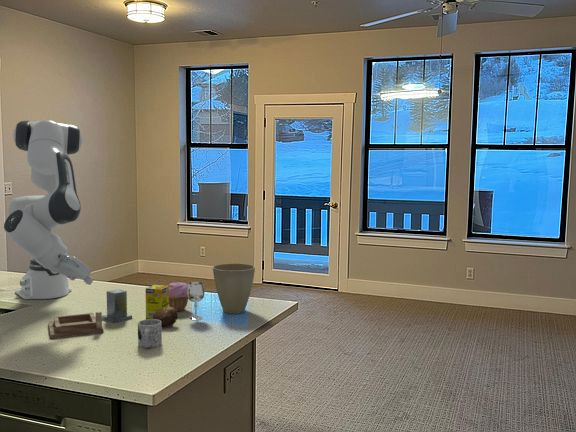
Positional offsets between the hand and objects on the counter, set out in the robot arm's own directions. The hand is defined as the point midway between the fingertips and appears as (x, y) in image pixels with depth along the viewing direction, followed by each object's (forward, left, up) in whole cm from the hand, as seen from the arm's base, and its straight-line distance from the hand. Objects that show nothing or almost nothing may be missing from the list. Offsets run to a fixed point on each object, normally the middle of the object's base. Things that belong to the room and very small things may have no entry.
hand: (82, 280), depth 178 cm
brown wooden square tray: (0, -3, -15) cm, 15 cm away
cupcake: (+6, +33, -15) cm, 37 cm away
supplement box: (+10, +21, -15) cm, 28 cm away
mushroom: (+18, +18, -15) cm, 30 cm away
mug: (+31, +2, -15) cm, 35 cm away
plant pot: (+22, +45, -15) cm, 53 cm away
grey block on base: (0, +12, -15) cm, 19 cm away
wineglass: (+19, +30, -15) cm, 39 cm away
